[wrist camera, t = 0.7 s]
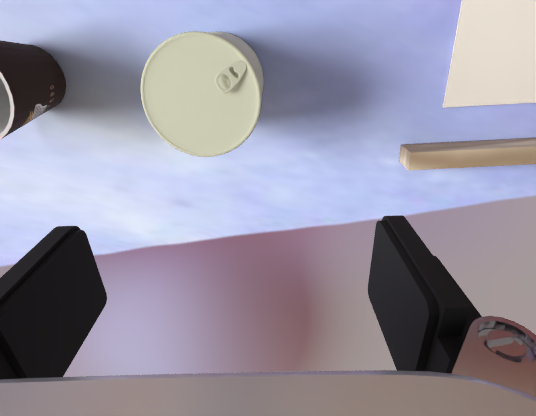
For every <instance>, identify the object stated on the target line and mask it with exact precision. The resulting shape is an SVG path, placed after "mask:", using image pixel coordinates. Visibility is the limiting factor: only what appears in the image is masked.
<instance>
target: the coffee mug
mask: <svg viewBox="0 0 536 416" xmlns="http://www.w3.org/2000/svg"><path fill="white" fill-rule="evenodd" d="M65 92H66V82H65V77H64V74H63V72H62V70H61V68H60V66H59V65H58V63H57V62H56V61H55V59H54V58H53V57H52V56H51V55H49V54H48V53H47V52H46V51H44V50H42V49H40V48H38V47H35V46H32V45H26V44H20V43H13V42H6V41H0V139H2V138H3V137H5V136H7V135H8V134H10V133H12V132H13V131H15V130H17V129H18V128H20V127H22V126H23V125H25V124H27V123H28V122H30V121H32V120H33V119H35V118H37V117H38V116H40V115H41V114H43V113H45V112H46V111H48V110H50V109H51V108H53V107H55V106H56V105H58V104H59V103H60V102H61V101H62V99H63V97H64V95H65Z"/></svg>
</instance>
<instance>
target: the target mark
mask: <svg viewBox="0 0 536 416" xmlns="http://www.w3.org/2000/svg"><path fill="white" fill-rule="evenodd" d="M518 103H536V0H462V2H461V7H460V13H459V18H458V24H457V29H456V35H455V41H454V46H453V52H452V57H451V63H450V68H449V74H448V79H447V85H446V91H445V96H444V102H443V108H445V107H463V106H481V105H500V104H518Z"/></svg>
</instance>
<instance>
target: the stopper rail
mask: <svg viewBox="0 0 536 416" xmlns="http://www.w3.org/2000/svg"><path fill="white" fill-rule="evenodd" d="M399 162H400V163H401V164H402V165H403V166H404V167H405V168H406V169H408V170H424V169H444V168H464V167H484V166H504V165H524V164H536V138H520V139H501V140H481V141H462V142H443V143H423V144H404V145H401V149H400V157H399Z"/></svg>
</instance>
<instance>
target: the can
mask: <svg viewBox="0 0 536 416" xmlns="http://www.w3.org/2000/svg"><path fill="white" fill-rule="evenodd" d="M263 86H264V76H263V70H262V67H261V64H260V61H259V59H258V57H257V55H256V54H255V52H254V51H253V50H252V48H251V47H250V46H249V45H248V44H247V43H246V42H244V41H243V40H242V39H240V38H238V37H236V36H234V35H232V34H229V33H224V32H210V33H206V32H197V31H196V32H185V33H181V34H177V35H175V36H172V37H170V38H169V39H167V40H165V41H164V42H162V43H161V44H160V45H159V46H158V47H157V48H156V49H155V50H154V51H153V52H152V54H151V55H150V57H149V58H148V60H147V62H146V64H145V67H144V70H143V73H142V78H141V100H142V104H143V108H144V111H145V114H146V116H147V118H148V120H149V122H150V124H151V125H152V127H153V128H154V130H155V131H156V132H157V133H158V135H159V136H160V137H161V138H162V139H163V140H165V141H166V142H167V143H168V144H170V145H171V146H173V147H174V148H176V149H178V150H180V151H182V152H184V153H187V154H190V155H195V156H202V157H210V156H218V155H222V154H225V153H228V152H230V151H232V150H234V149H235V148H237V147H238V146H240V145H241V144H242V143H243V142H244V141H245V140H246V139H247V138H248V137H249V136H250V134H251V133H252V131H253V130H254V128H255V126H256V124H257V121H258V118H259V115H260V110H261V96H262V92H263Z"/></svg>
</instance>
